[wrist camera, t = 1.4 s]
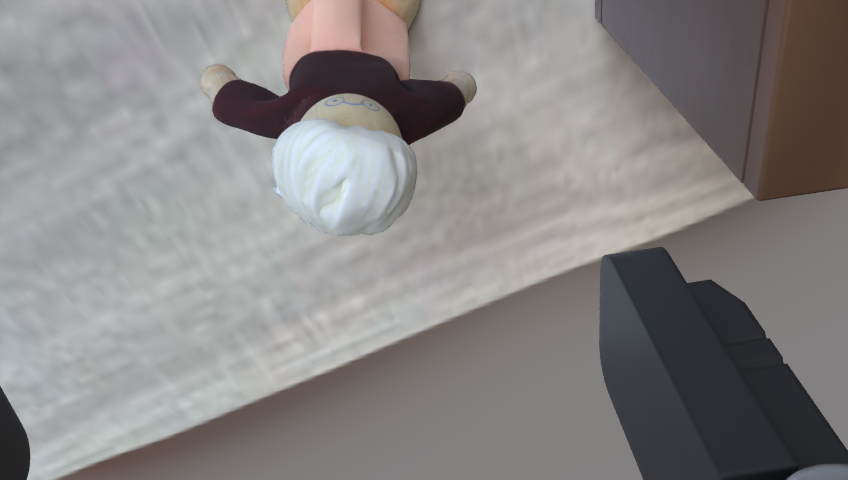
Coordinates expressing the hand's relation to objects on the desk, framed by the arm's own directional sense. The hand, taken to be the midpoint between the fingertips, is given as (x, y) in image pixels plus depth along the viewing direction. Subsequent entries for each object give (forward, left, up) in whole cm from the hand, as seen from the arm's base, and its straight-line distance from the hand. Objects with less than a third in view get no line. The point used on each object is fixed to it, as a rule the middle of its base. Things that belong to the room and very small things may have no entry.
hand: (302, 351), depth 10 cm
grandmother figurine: (0, -2, -19) cm, 19 cm away
